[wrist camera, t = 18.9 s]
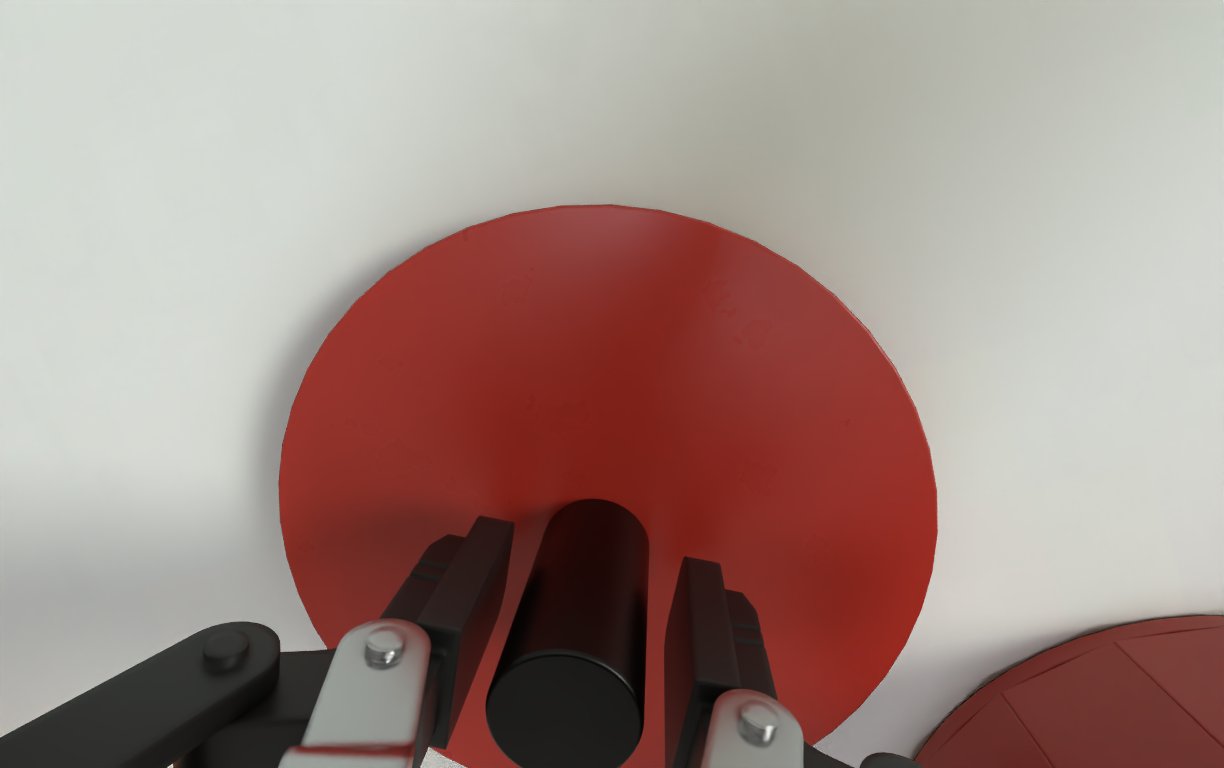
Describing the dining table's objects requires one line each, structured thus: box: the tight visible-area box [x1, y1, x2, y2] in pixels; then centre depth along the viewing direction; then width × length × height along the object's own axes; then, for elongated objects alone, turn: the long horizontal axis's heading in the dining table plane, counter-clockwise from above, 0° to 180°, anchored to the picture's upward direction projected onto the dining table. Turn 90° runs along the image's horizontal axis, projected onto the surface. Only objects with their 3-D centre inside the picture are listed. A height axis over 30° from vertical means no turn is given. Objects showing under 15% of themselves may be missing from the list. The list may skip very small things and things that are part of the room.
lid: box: [279, 204, 938, 768], centre depth 12 cm, size 15×15×6 cm
